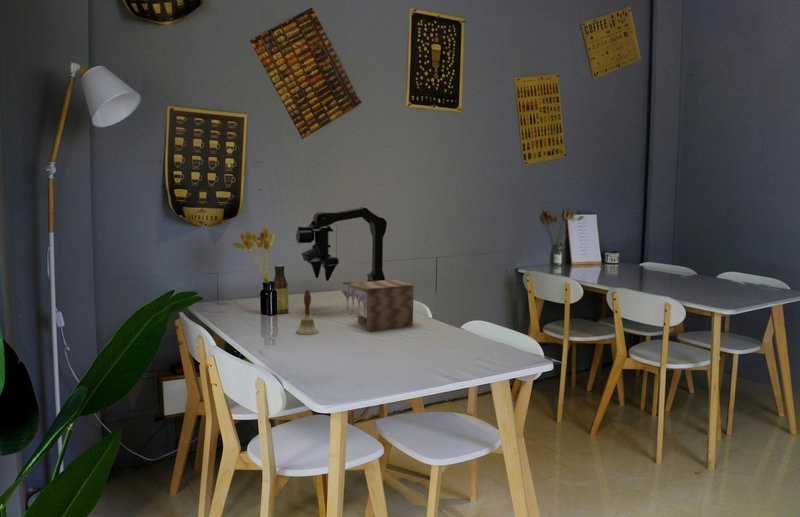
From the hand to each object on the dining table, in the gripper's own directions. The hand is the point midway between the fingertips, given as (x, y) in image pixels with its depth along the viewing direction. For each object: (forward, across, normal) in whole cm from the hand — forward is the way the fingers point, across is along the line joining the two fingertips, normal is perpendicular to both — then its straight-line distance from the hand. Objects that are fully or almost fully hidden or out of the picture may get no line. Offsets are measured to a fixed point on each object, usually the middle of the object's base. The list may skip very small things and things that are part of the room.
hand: (322, 279), depth 282 cm
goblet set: (+14, +15, +9) cm, 23 cm away
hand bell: (+14, +28, -22) cm, 38 cm away
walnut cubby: (+14, +33, +8) cm, 37 cm away
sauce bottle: (+14, -8, -16) cm, 22 cm away
